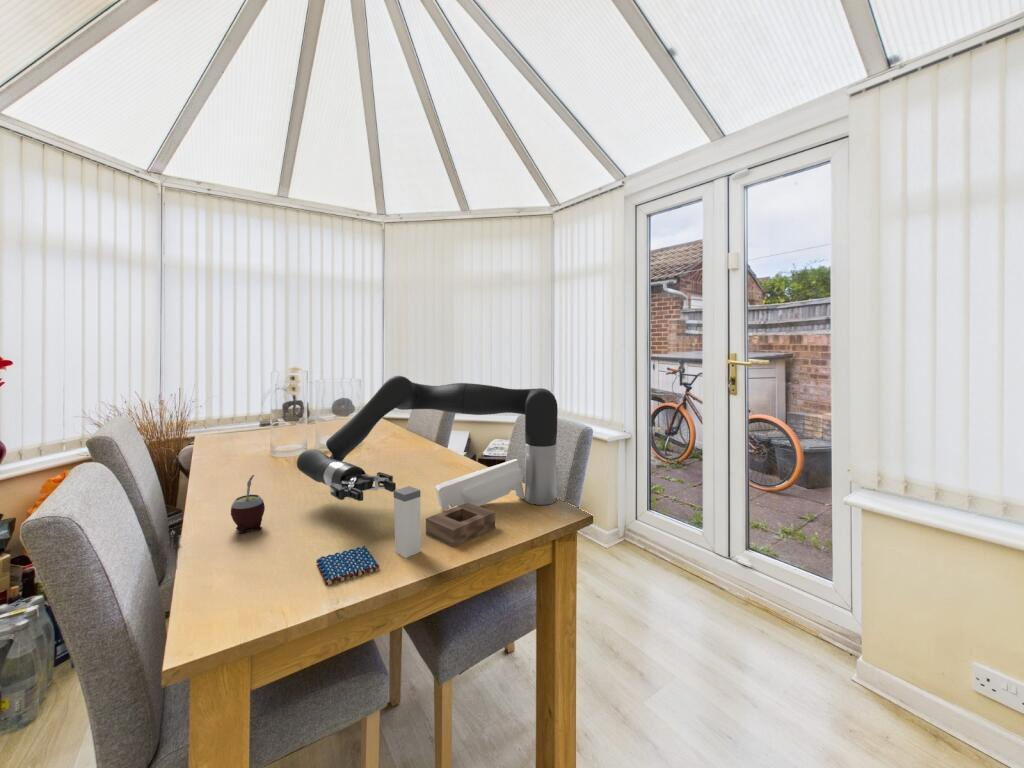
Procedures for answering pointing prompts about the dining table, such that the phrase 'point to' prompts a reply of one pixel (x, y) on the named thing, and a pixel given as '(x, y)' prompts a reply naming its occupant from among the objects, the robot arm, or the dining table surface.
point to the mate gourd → (248, 511)
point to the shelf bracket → (482, 486)
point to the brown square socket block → (460, 524)
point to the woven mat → (346, 564)
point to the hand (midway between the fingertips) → (378, 492)
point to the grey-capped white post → (407, 521)
